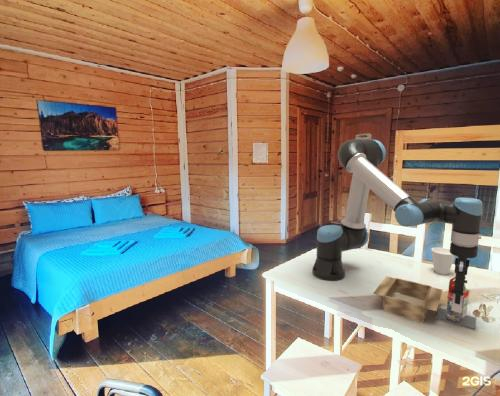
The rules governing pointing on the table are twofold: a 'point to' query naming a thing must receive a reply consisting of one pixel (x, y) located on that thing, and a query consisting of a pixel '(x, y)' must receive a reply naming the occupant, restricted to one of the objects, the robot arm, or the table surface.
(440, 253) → the cup
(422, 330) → the table surface
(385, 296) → the carton
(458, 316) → the ink box
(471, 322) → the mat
